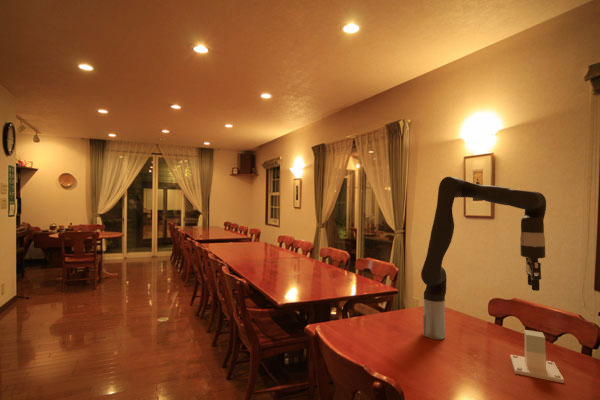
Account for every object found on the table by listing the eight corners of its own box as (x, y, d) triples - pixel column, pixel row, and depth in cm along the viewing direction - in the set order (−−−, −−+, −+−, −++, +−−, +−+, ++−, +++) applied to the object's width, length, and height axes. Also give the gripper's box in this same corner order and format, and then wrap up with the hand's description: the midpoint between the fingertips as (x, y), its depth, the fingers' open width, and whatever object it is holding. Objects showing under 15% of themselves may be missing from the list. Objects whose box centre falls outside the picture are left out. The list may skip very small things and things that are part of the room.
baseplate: (515, 373, 116) (515, 368, 116) (510, 357, 128) (510, 353, 128) (564, 383, 109) (563, 378, 109) (554, 365, 122) (553, 361, 122)
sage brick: (526, 351, 118) (526, 334, 118) (524, 345, 123) (524, 329, 123) (545, 354, 115) (545, 337, 115) (542, 348, 120) (542, 332, 120)
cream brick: (527, 367, 118) (527, 351, 118) (524, 361, 123) (524, 345, 123) (546, 371, 115) (545, 354, 115) (542, 364, 120) (542, 348, 120)
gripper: (517, 242, 128) (518, 282, 128) (523, 245, 115) (524, 290, 115) (540, 243, 125) (541, 285, 124) (549, 246, 112) (550, 293, 112)
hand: (533, 287), depth 120 cm, fingers open, 8 cm apart
